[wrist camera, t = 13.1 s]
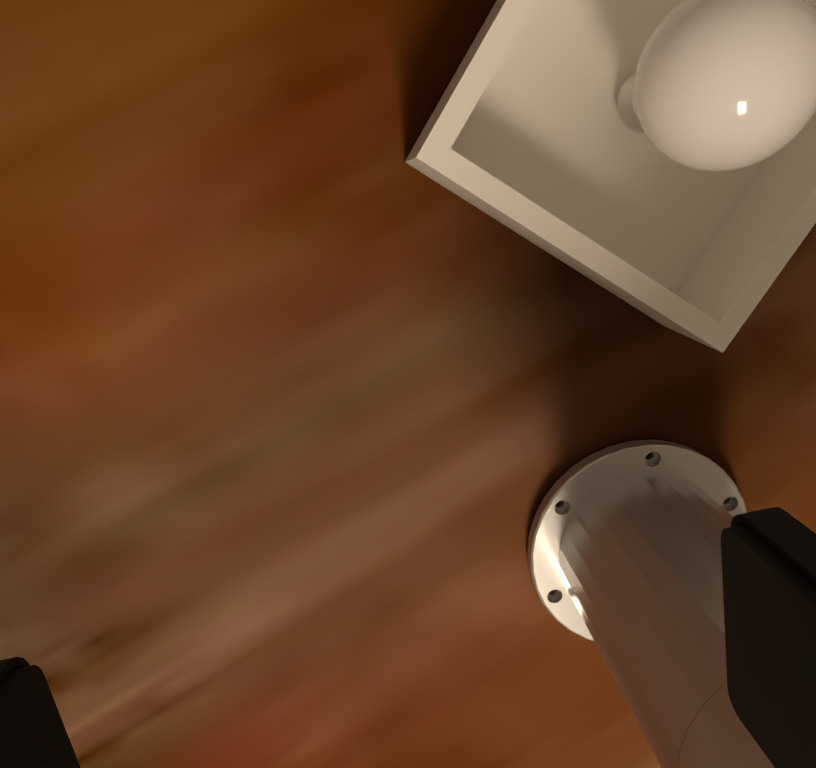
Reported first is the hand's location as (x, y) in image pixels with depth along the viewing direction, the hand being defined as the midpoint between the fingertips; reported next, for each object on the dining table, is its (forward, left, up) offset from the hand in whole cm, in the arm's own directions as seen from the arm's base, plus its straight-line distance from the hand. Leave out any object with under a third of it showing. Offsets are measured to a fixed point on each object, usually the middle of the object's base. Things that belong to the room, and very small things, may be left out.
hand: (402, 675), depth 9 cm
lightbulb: (-6, -15, -26) cm, 31 cm away
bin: (-6, -15, -27) cm, 32 cm away
